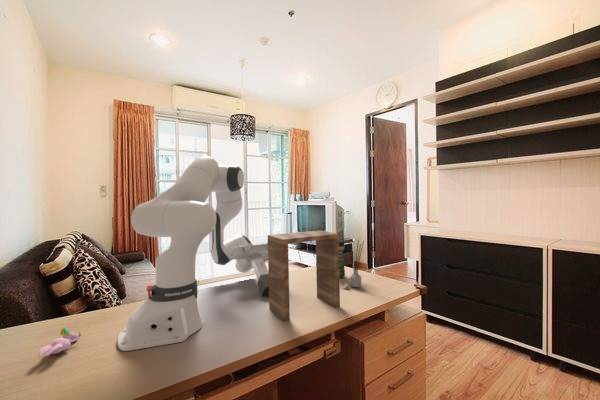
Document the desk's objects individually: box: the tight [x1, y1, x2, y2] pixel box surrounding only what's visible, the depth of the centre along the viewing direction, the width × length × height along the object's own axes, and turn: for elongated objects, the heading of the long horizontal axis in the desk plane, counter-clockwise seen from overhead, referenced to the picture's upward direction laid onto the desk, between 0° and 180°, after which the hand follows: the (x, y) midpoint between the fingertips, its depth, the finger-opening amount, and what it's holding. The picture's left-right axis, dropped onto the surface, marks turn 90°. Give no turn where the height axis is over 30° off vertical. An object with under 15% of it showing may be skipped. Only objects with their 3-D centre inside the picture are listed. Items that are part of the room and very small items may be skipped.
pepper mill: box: [250, 254, 269, 297], centre depth 120 cm, size 6×21×6 cm
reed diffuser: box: [343, 239, 365, 289], centre depth 121 cm, size 10×7×20 cm
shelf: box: [267, 229, 341, 322], centre depth 101 cm, size 22×12×26 cm, turn 119°
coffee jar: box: [339, 237, 346, 279], centre depth 138 cm, size 10×8×19 cm
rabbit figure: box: [37, 326, 82, 358], centre depth 76 cm, size 6×6×15 cm
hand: (260, 244), depth 120 cm, fingers open, 7 cm apart
